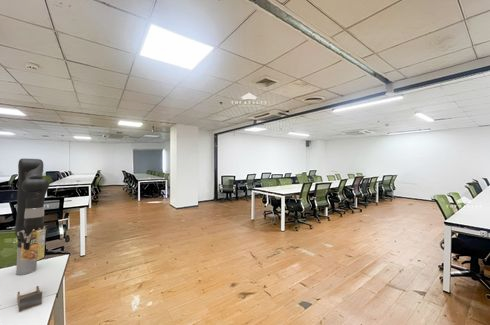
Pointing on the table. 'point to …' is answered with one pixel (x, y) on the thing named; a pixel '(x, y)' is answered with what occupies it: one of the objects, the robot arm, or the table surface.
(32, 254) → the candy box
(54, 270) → the table surface
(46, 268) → the table surface
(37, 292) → the cradle
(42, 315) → the table surface
